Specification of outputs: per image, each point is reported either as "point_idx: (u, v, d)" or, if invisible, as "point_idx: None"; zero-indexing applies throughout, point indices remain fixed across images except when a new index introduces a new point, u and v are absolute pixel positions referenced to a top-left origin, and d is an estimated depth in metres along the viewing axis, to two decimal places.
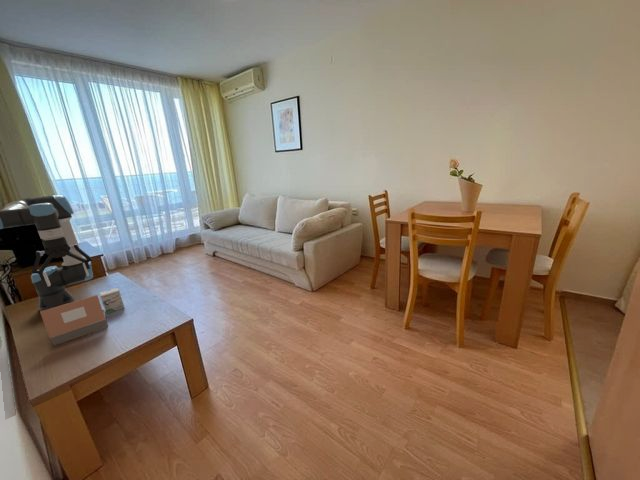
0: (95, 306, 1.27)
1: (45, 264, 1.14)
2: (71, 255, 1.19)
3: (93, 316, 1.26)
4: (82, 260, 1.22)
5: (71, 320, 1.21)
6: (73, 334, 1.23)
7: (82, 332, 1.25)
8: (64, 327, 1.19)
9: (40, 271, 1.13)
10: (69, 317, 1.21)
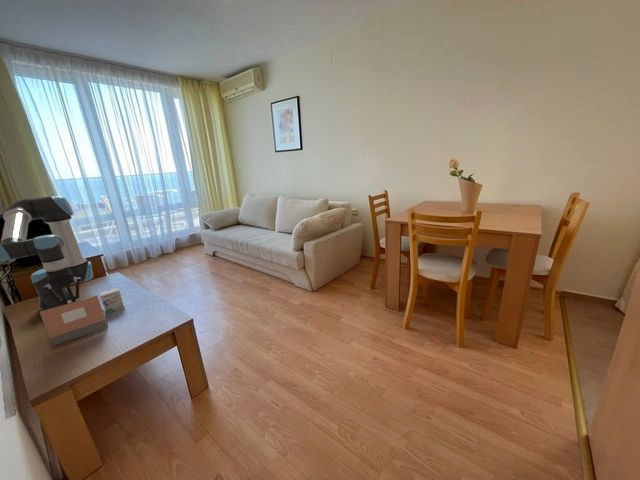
0: (95, 306, 1.26)
1: (62, 294, 1.18)
2: (68, 288, 1.19)
3: (93, 316, 1.26)
4: (71, 297, 1.21)
5: (71, 320, 1.21)
6: (73, 334, 1.23)
7: (82, 332, 1.25)
8: (64, 327, 1.19)
9: (64, 301, 1.19)
10: (69, 317, 1.20)
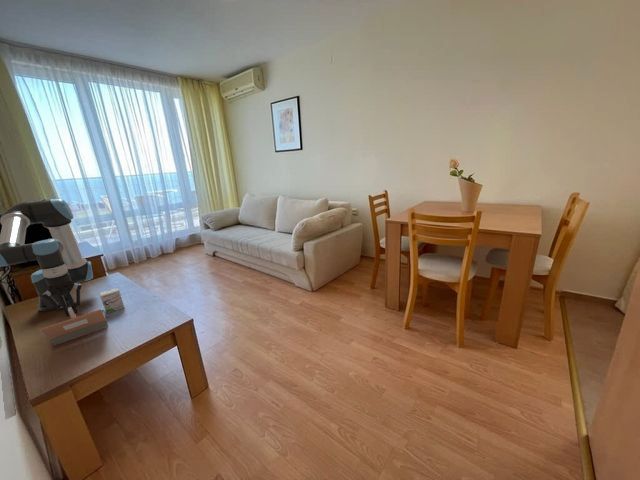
0: (97, 316, 1.23)
1: (62, 301, 1.14)
2: (68, 295, 1.15)
3: (94, 321, 1.25)
4: (72, 304, 1.16)
5: (72, 327, 1.19)
6: (73, 334, 1.23)
7: (82, 332, 1.25)
8: (65, 331, 1.18)
9: (65, 308, 1.15)
10: (70, 326, 1.17)
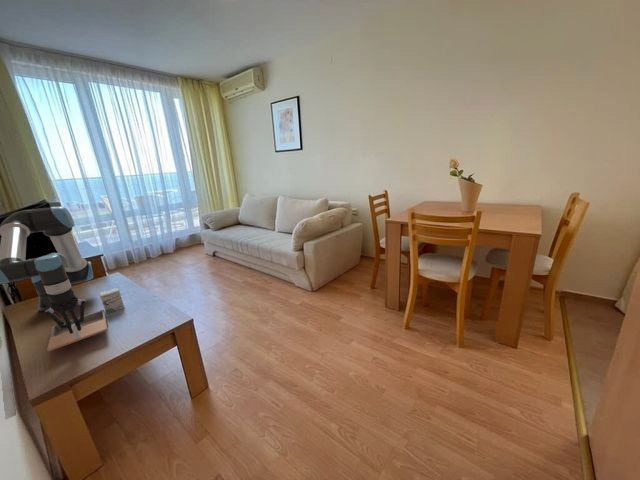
0: None
1: (65, 318, 1.09)
2: (72, 311, 1.10)
3: None
4: (75, 320, 1.12)
5: None
6: None
7: None
8: None
9: (68, 325, 1.10)
10: None
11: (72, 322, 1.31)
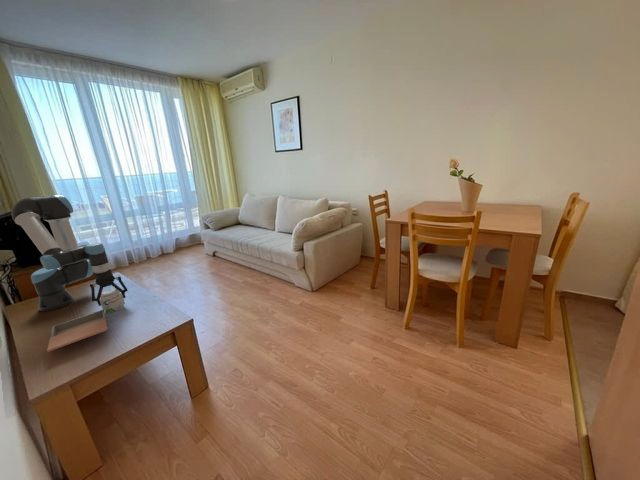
0: None
1: (99, 293, 1.40)
2: (114, 285, 1.44)
3: None
4: (120, 290, 1.47)
5: None
6: None
7: None
8: None
9: (98, 299, 1.40)
10: None
11: (72, 322, 1.31)
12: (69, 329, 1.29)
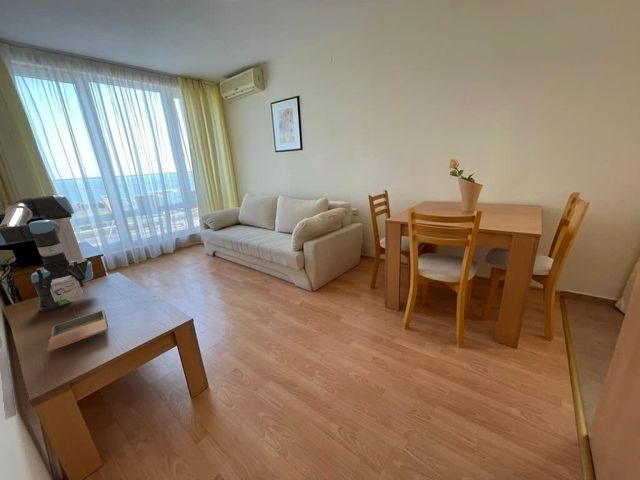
0: None
1: (49, 280, 1.17)
2: (68, 272, 1.21)
3: None
4: (77, 278, 1.24)
5: None
6: None
7: None
8: None
9: (47, 287, 1.17)
10: None
11: (72, 322, 1.31)
12: (69, 329, 1.29)
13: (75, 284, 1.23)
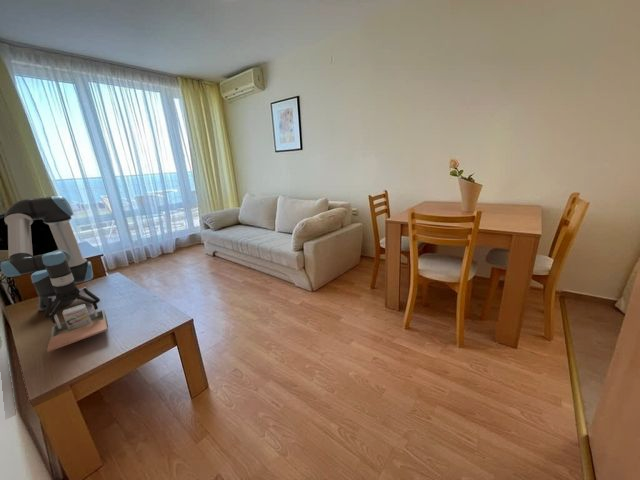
0: None
1: (56, 308, 1.21)
2: (80, 298, 1.26)
3: None
4: (91, 302, 1.29)
5: None
6: None
7: None
8: None
9: (52, 315, 1.20)
10: None
11: None
12: None
13: (86, 313, 1.28)
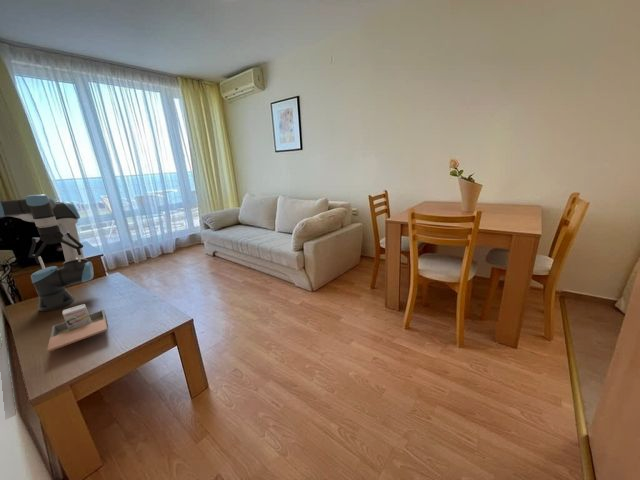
0: None
1: (40, 249, 1.27)
2: (64, 242, 1.32)
3: None
4: (74, 247, 1.35)
5: None
6: None
7: None
8: None
9: (36, 256, 1.26)
10: None
11: None
12: None
13: (86, 313, 1.28)
